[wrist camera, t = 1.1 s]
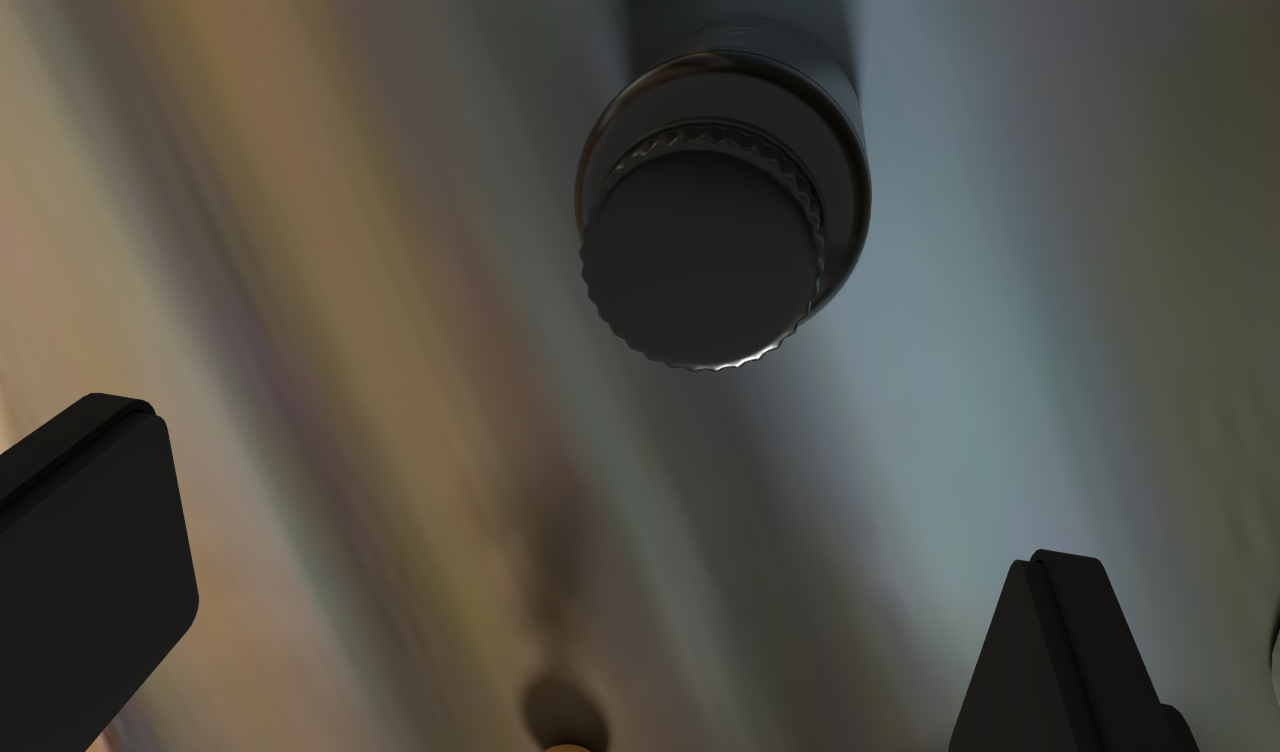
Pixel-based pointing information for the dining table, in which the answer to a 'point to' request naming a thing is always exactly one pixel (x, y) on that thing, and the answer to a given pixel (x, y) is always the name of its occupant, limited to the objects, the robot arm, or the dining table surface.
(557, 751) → the figurine
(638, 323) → the supplement bottle
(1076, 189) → the dining table surface
